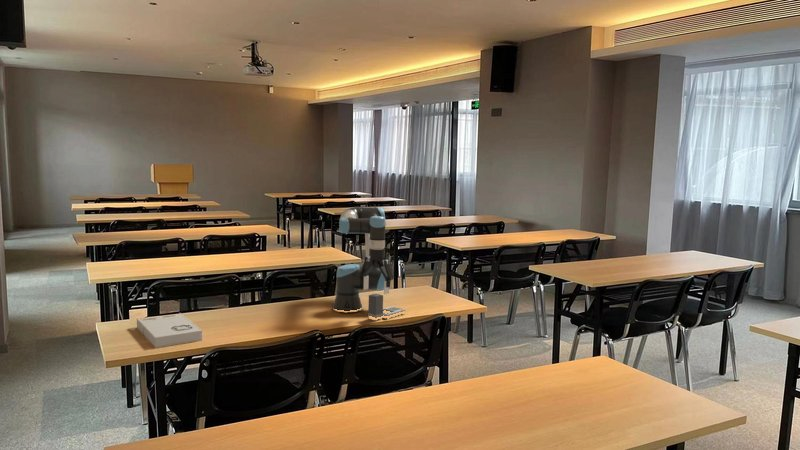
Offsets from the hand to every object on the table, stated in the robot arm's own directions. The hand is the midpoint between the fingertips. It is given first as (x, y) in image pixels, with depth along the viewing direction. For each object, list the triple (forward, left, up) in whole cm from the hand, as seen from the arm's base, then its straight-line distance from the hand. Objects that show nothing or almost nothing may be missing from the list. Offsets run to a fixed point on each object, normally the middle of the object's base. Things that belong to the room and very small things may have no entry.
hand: (376, 291), depth 283 cm
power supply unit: (-48, -81, -15) cm, 95 cm away
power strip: (0, +11, -14) cm, 18 cm away
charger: (0, 0, -14) cm, 14 cm away
